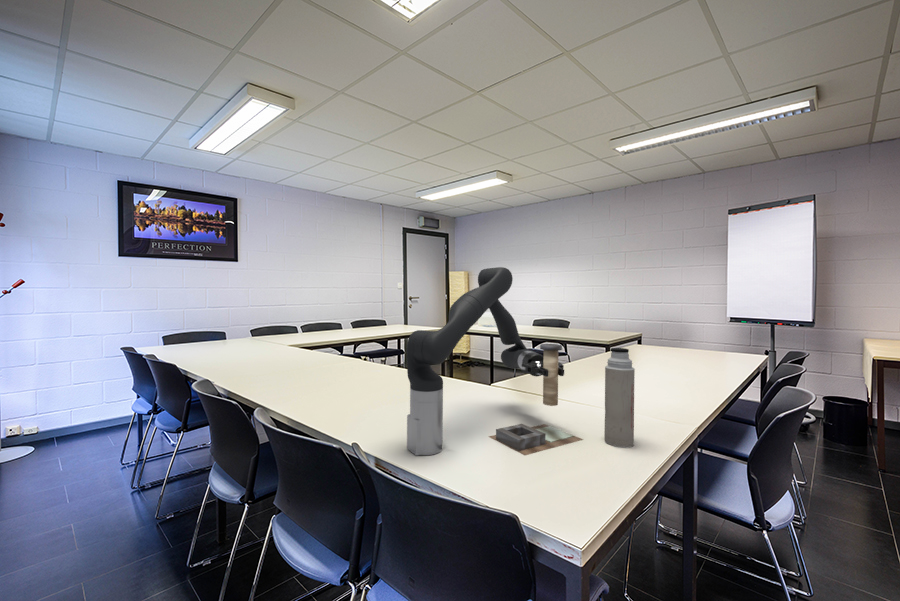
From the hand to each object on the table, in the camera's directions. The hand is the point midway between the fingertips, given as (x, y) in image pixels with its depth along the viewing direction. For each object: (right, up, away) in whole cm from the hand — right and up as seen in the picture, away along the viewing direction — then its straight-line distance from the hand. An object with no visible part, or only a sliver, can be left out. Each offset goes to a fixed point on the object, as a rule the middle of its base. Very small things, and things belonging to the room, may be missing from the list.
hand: (554, 373), depth 115 cm
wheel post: (-1, -10, +3) cm, 10 cm away
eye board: (-6, -20, 0) cm, 21 cm away
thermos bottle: (+19, -21, -1) cm, 28 cm away
